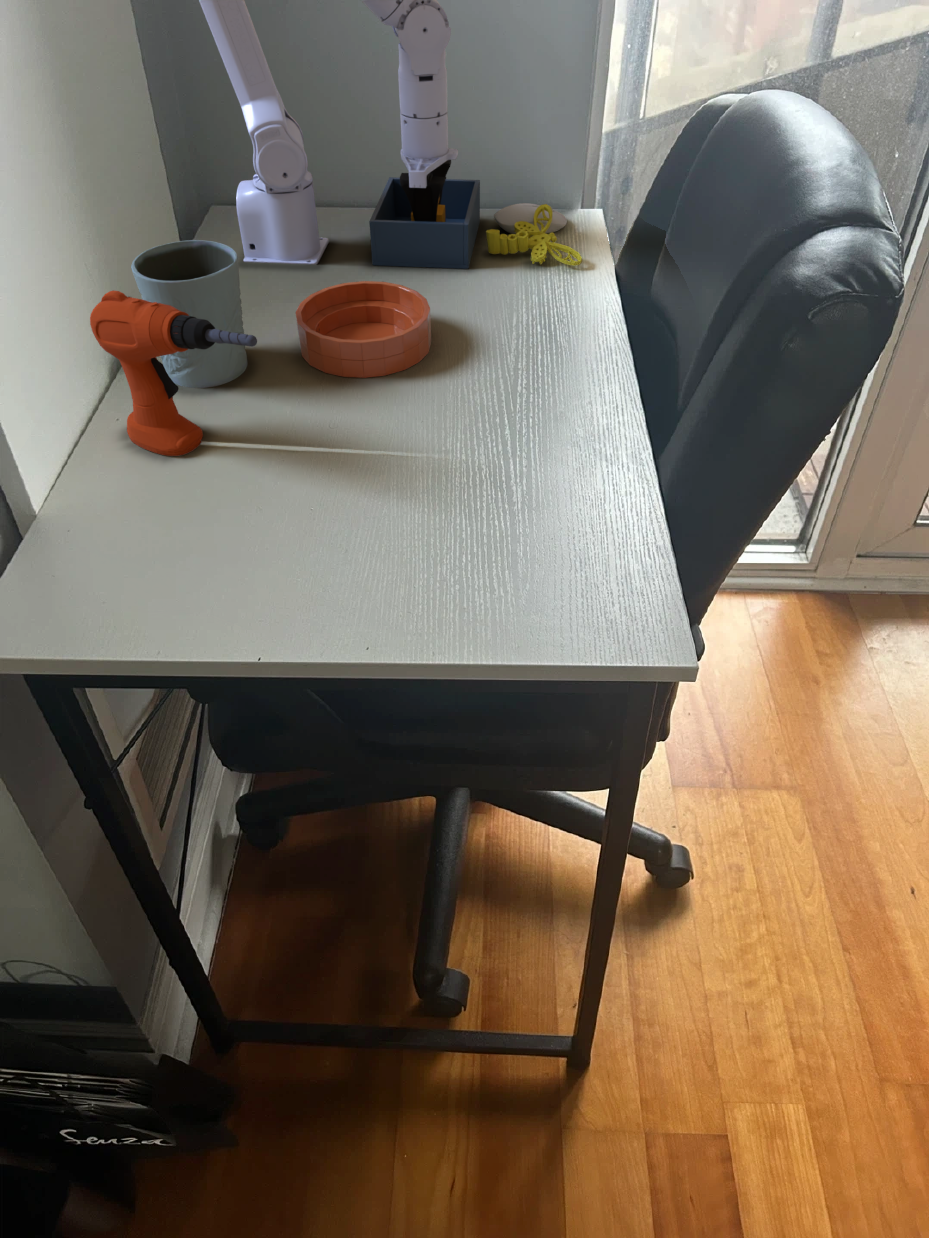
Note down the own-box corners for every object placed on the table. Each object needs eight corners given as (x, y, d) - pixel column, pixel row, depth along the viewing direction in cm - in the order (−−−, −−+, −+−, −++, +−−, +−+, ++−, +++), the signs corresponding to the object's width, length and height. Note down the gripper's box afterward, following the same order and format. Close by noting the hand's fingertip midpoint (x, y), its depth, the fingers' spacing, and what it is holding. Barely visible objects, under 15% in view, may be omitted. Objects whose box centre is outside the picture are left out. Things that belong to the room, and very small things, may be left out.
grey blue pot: (147, 392, 97) (116, 280, 89) (175, 345, 104) (149, 237, 96) (244, 395, 97) (222, 282, 88) (265, 347, 104) (247, 239, 95)
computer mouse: (571, 232, 126) (572, 209, 124) (499, 240, 124) (500, 217, 122) (557, 216, 130) (559, 193, 128) (488, 223, 128) (488, 200, 126)
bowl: (287, 378, 99) (281, 339, 96) (317, 316, 109) (312, 278, 106) (421, 385, 98) (419, 345, 95) (438, 321, 108) (437, 283, 105)
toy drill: (274, 481, 83) (226, 319, 74) (121, 449, 91) (60, 299, 82) (306, 454, 86) (264, 294, 77) (155, 425, 94) (100, 277, 85)
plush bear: (412, 242, 122) (409, 187, 118) (415, 231, 125) (413, 177, 120) (442, 243, 122) (441, 188, 117) (445, 232, 124) (444, 178, 120)
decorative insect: (508, 290, 117) (583, 267, 118) (506, 268, 114) (583, 245, 115) (476, 231, 124) (548, 210, 125) (474, 209, 121) (547, 187, 122)
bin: (372, 265, 119) (369, 221, 115) (391, 218, 130) (389, 177, 126) (468, 269, 118) (468, 224, 114) (479, 221, 129) (479, 180, 125)
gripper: (449, 132, 107) (452, 249, 117) (463, 94, 118) (464, 205, 127) (388, 130, 108) (395, 247, 117) (407, 93, 118) (412, 204, 128)
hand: (427, 226), depth 122 cm, fingers closed on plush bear, 3 cm apart
